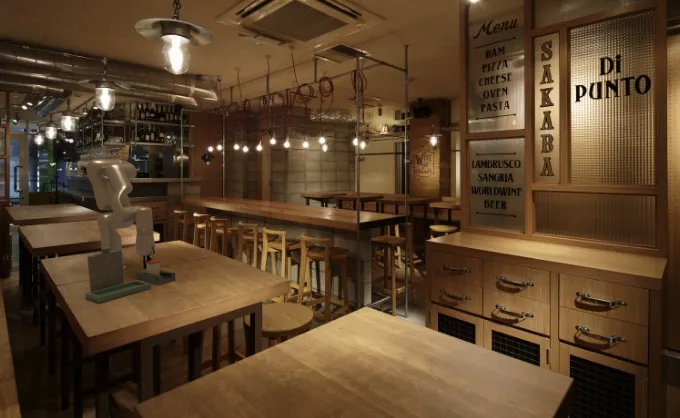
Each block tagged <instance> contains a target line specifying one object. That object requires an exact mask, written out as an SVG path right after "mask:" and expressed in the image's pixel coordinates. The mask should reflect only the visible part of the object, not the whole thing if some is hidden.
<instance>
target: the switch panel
mask: <svg viewBox="0 0 680 418" xmlns="http://www.w3.org/2000/svg"><path fill="white" fill-rule="evenodd" d="M135 274H136V280H139V281H143V282H147V283H151V285H156V286H162V285H165V284H167V283H172V282H176V272H174V271H169V270H164V269H160V275H155V274H151V273H147V271H146V272H145V271H142V270H139V271H136V272H135Z"/></svg>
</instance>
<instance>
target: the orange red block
mask: <svg viewBox="0 0 680 418" xmlns="http://www.w3.org/2000/svg"><path fill="white" fill-rule="evenodd" d="M160 263H161V260H158V259H151V260H150V261H146V265H147V269H146V273H151V274H155V275H160V270H161V268H160V266H161V265H160Z"/></svg>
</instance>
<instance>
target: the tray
mask: <svg viewBox="0 0 680 418" xmlns="http://www.w3.org/2000/svg"><path fill="white" fill-rule="evenodd" d="M151 289H152V283H148V282H144V281H140V280H137V279H136V280H132V281H128V282H124V283H123V284H119V285H116V286H112V287H108V288H104V289H101V290H97V291H93V292H90V291H89V292H86V293H84V294H85V299H86V300H87V301H90V302H94V303H97V304H104V303H106V302H110V301H114V300H116V299H120V298H125V297H127V296H130V295H135V294H137V293H142V292H145V291H147V290H151Z"/></svg>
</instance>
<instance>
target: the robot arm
mask: <svg viewBox="0 0 680 418" xmlns="http://www.w3.org/2000/svg"><path fill="white" fill-rule="evenodd" d="M86 174H87V177H88V179H89V182H90V183H91V185H92V189H93V194H94V198H95V201H96V202H95V203H96V206H97V208H98V210H100V211H109V212H103V213H101V214H99V215H98V216H97V220H96V221H97V222H96V223H97V226H98V229H99V235H100V244H101V248H104V247H110V251H113V250H117V249H121V250H122V251H123V249H122V248H123V245H122V236H121V235H120V233H119V232H118V231H117V230H119V229H127V228H129V227H132V226H133V225H134V222H135V228H136V235H135V253H136V255H139V256H140V257H141V260H142V263H143V269H144V270H147V265H146V261H150V260H153V259H152V258H155V254H156V241H155V236H154V224H153V223H154V221H153V220H154V219H153V210H152V207H150V206H149V207H148V206H144V205H134V206H132V205H131V201H130V198H129V196H128V194H130V193H131V192H132V191H133V188H134V187H133V185H132V183H131V181H130V180H133V179H135V178H136V177H137V175H138V171H137V169H136V167H135V165H134V164H132V163H131V162H129V161H126V160H124V159H123V160H122V159H118V158H114V159H113V158H110V159H108V158H97V159H92V160H90V161H88V162H87V164H86ZM105 176H107V178H108V179H107V178H106V177H105ZM123 260H124V257H123V256H122V264H123V271H125V270H126V269H127V265H124V261H123Z"/></svg>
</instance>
